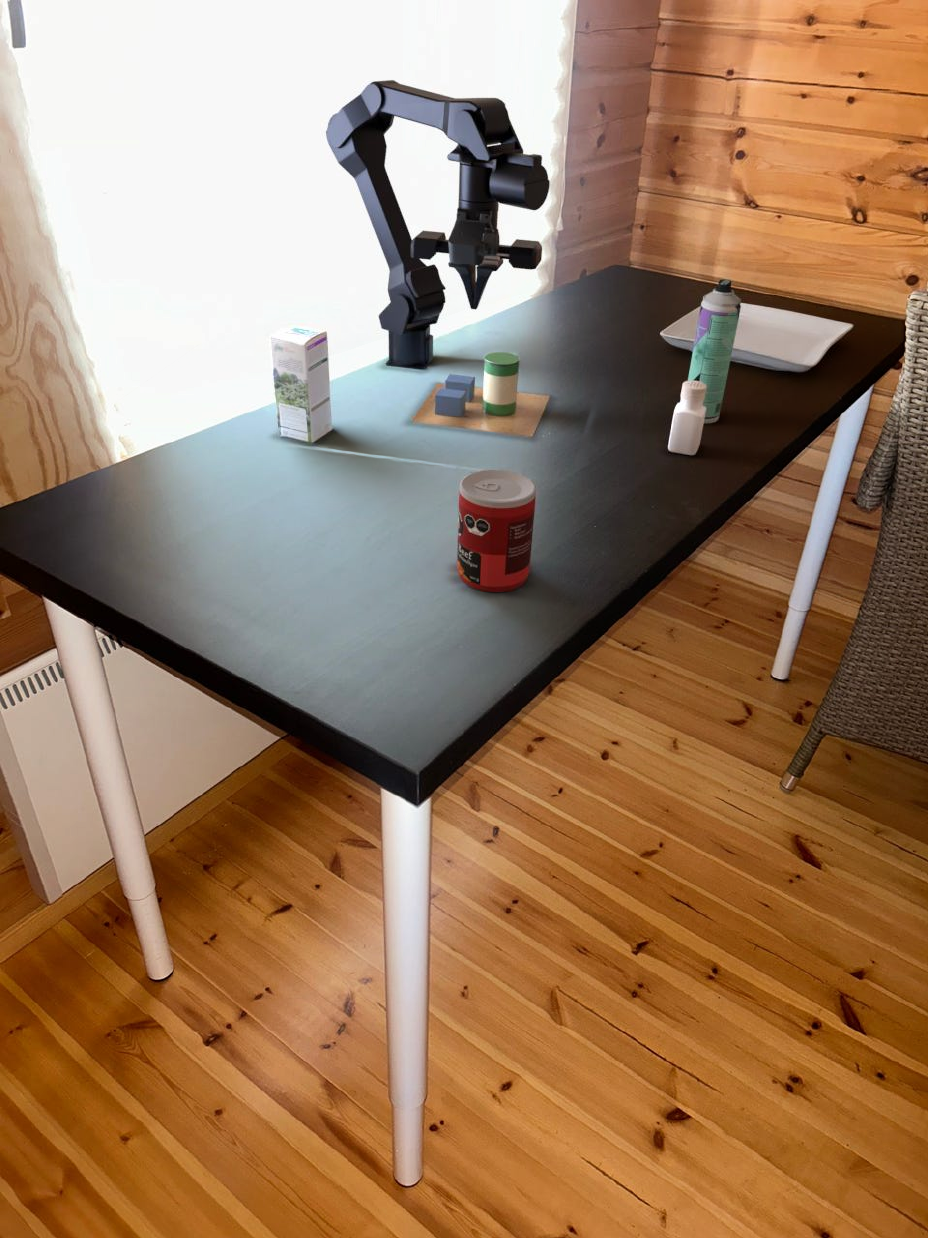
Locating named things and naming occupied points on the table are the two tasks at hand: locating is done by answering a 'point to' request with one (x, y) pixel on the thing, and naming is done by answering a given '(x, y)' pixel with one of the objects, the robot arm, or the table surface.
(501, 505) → the canned food
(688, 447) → the pepper shaker
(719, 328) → the spray can
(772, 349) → the square plate
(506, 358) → the green tin
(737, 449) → the table surface
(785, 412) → the table surface
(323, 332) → the syrup box
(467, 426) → the cork mat
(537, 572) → the table surface
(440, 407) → the blue blocks
